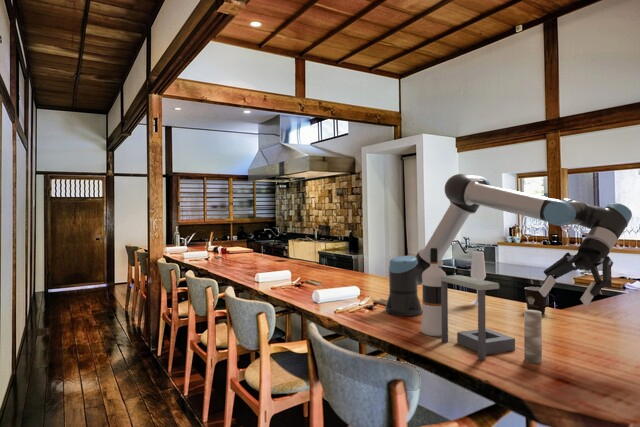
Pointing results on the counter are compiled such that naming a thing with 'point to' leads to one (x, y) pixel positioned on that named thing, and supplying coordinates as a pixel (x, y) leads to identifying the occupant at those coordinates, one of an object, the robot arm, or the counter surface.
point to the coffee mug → (536, 299)
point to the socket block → (493, 341)
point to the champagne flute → (478, 269)
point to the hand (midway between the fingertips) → (561, 298)
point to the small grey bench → (481, 287)
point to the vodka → (432, 297)
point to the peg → (533, 336)
